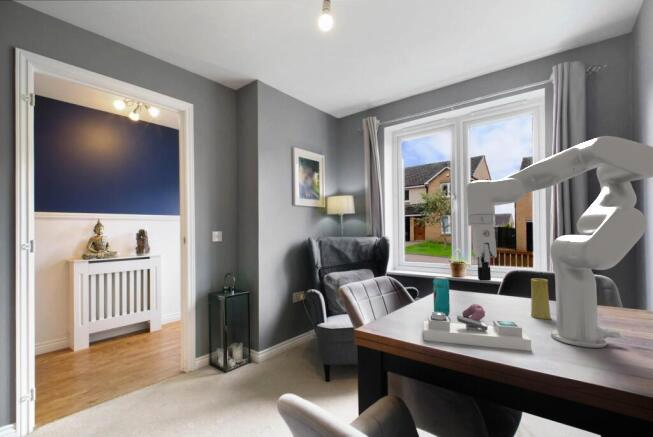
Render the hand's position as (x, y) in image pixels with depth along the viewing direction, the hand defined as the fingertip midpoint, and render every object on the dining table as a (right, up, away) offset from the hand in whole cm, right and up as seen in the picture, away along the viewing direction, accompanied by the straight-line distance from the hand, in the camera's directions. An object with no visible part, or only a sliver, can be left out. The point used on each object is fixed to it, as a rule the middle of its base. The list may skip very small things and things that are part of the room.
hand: (484, 280), depth 91 cm
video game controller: (+6, -19, +19) cm, 27 cm away
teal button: (+5, -15, -4) cm, 16 cm away
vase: (+33, -19, +22) cm, 44 cm away
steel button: (-13, -14, +2) cm, 19 cm away
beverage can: (-4, -19, +24) cm, 31 cm away
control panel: (-4, -18, -1) cm, 18 cm away
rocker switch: (-4, -13, -1) cm, 14 cm away
